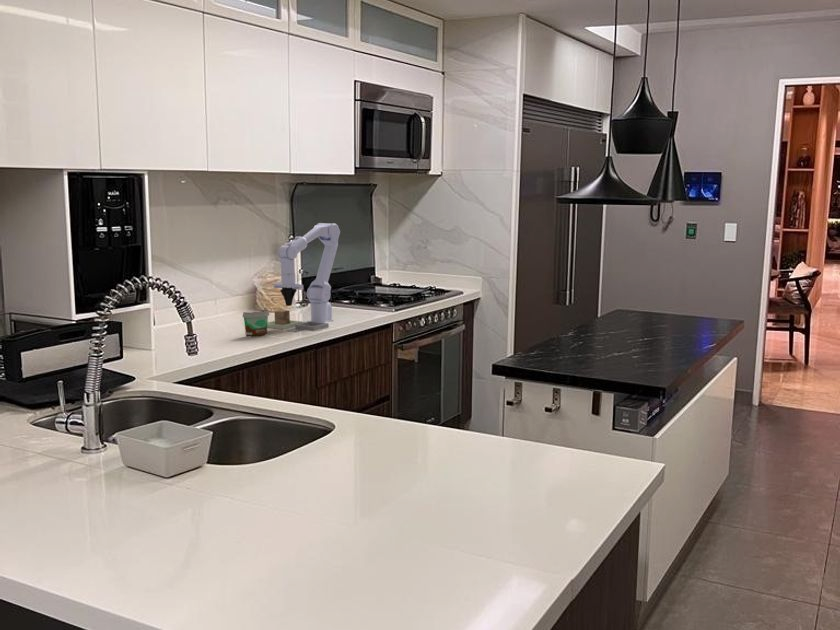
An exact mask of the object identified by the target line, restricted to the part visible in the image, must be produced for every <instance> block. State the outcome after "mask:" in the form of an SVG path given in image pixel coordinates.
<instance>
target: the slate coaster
mask: <svg viewBox="0 0 840 630" xmlns="http://www.w3.org/2000/svg"><path fill="white" fill-rule="evenodd" d="M303 331H304V329H295V328H288V329H284V332H288V333H289V332H291V333H298V332H303Z"/></svg>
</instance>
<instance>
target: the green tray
mask: <svg viewBox="0 0 840 630" xmlns="http://www.w3.org/2000/svg"><path fill="white" fill-rule="evenodd" d="M301 323H303V321H301V320H290V324H287V325H278V324H275V320H271V321H268V323H267V329H268V328H269V329H279V330H280V329H281V330H288V329H292V328H295V325H297V324H301Z"/></svg>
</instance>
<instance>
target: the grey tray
mask: <svg viewBox="0 0 840 630" xmlns="http://www.w3.org/2000/svg"><path fill="white" fill-rule="evenodd" d="M327 328H329V322H323V323H321V322H307V321H306V322H302V323H301V324H297V325H295V327H294V329H303V330H304V331H305V330H307V331H315V332H318V331H319V330H320V331H322V330H323V329H325V330H326V329H327Z"/></svg>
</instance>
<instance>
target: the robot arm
mask: <svg viewBox="0 0 840 630" xmlns="http://www.w3.org/2000/svg"><path fill="white" fill-rule="evenodd" d="M340 234H341V230H340V228H339V225H338V224H337V223H323V222H318V223H316V225H314V226H313V228H312V229H310V230H309V231H308V232H306V233H305V234H304V235H303V236H295V237H294V239H292V240H291V241H287V243H286V245H281V246H280V247H279V248H278V250H277V257H278V258H279V262H280V275H281V282H275V283H273V289H280V291H279V292H280V293H281V294H282V297H283V299H284V302H285V306H286V307H291V306H292V305H293V301H294V297H295V294H296V292H297V290H304V284H299V283H296V273H295V272H296V270H295V259H296V258H297V256H298V254H299V253H300V252H302V251H304V250H305V249H306V248H307V247H308V244H309V243H310V242H312V241H314V240H316V239H317V238H318V239H319V240H320V242H321V243H322V244H323V245H324V248H323V252H322V256H321V259H320V263H319V266H318V269H317V273H316V278H315V279H314V280H313V281H312V282H311V283H310V285H309V287H308V288H307V291H306V297H307V299H308V300H309V303H310V320H307V321H306V322H321V323H328V322H334V319H333V309H332V304H331V302H329V300H330V299H331V290H332V286H331V284H330V283H329V280H330V276H331V272H332V269H333V266H334V261H335V258H336V254H337V250H338V247H339V238H340Z"/></svg>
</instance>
